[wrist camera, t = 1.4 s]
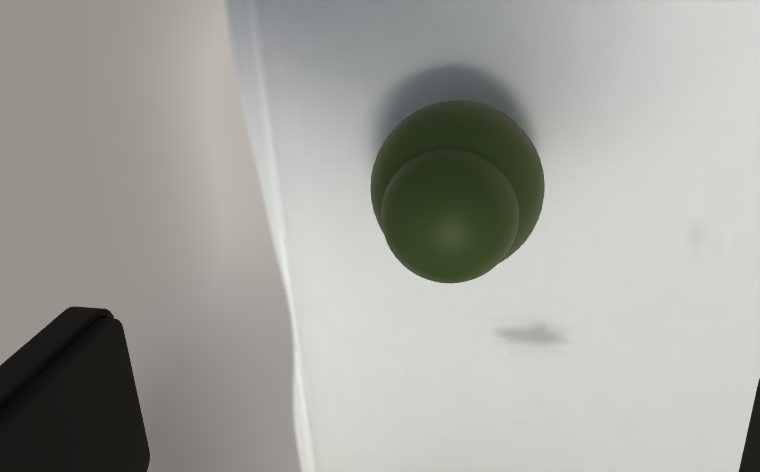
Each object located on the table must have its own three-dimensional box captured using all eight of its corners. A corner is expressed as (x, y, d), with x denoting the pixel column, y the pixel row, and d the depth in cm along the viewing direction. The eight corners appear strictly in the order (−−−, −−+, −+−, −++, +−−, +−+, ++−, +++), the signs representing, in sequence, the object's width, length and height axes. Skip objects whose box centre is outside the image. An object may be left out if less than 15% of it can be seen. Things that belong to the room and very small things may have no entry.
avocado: (359, 136, 29) (303, 216, 22) (486, 47, 26) (468, 106, 19) (446, 251, 30) (419, 360, 23) (573, 177, 28) (586, 274, 21)
